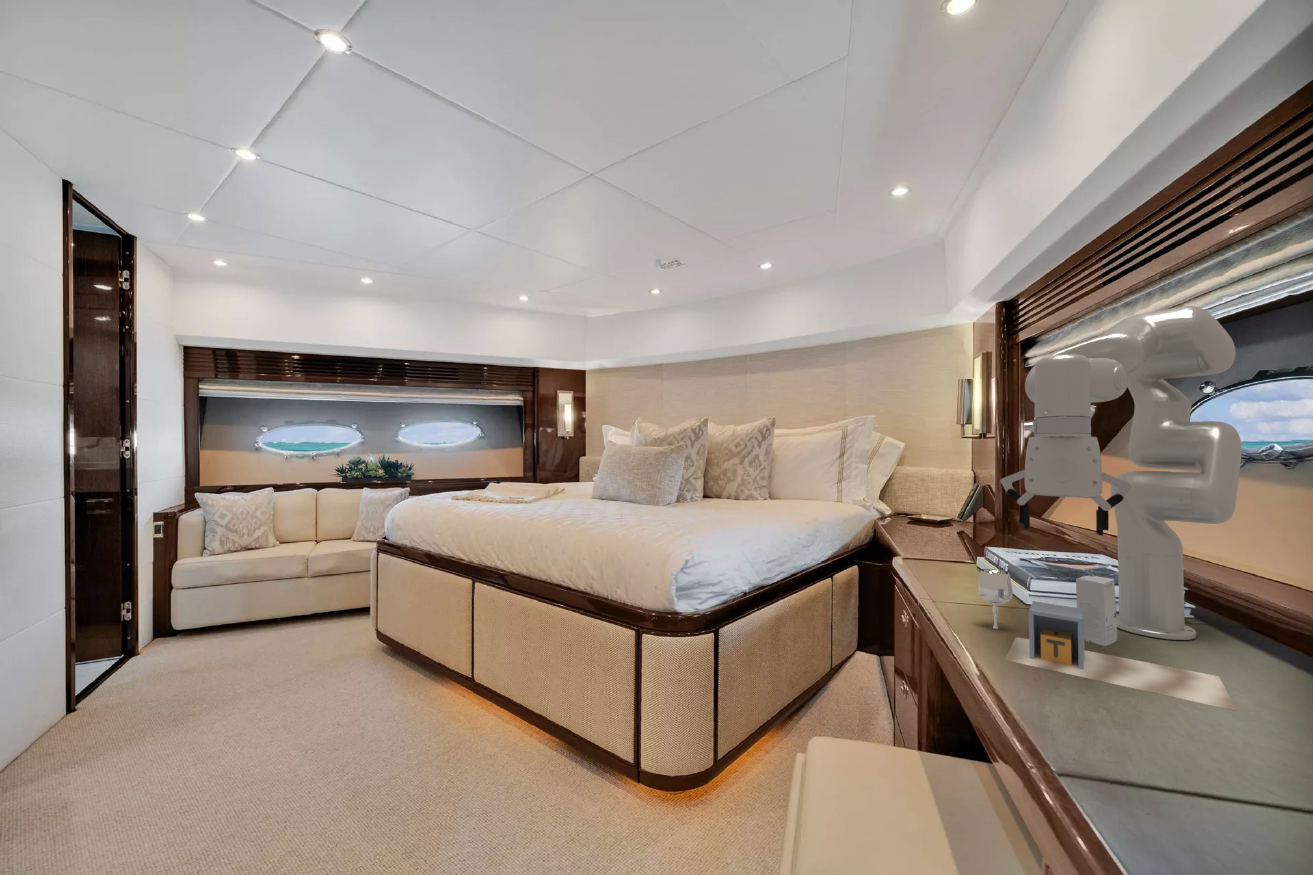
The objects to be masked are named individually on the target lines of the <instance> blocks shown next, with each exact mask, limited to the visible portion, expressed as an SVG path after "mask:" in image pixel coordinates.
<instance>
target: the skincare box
mask: <svg viewBox="0 0 1313 875" xmlns="http://www.w3.org/2000/svg"><path fill="white" fill-rule="evenodd" d="M1115 584H1116V582H1115V579H1114V578H1110V577H1109V578H1108V577H1103V576H1096V575H1084V576H1081V577H1078V578H1076V579H1075V585H1076V587H1075V588H1076V608H1081V609H1084V642H1087V643H1090V644H1096V645H1098V646H1099V645H1100V646H1104V647H1106V646H1109V645H1112V644H1113V643H1115V642H1116V641H1118V628H1117V620H1116V614H1117V604H1116V602H1117V600H1116V589H1115V588H1116V586H1115Z"/></svg>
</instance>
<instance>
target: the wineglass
mask: <svg viewBox="0 0 1313 875" xmlns="http://www.w3.org/2000/svg"><path fill="white" fill-rule="evenodd" d="M977 581H978V582H977V591H978V594H979V596H980V598H981V599H983V600H984V601H985V602H988V603H989V604H992V605H993V606H992V613H993V627H992V628H993V629H996V630H998V629H999V626H998V614H999V607H998V606H999V605H1004V604H1006V603H1009V602H1010V601H1011V600H1012V597H1013V594H1014V590H1013V583H1012V579H1011V575H1010V572H1008V571H1005V570H1002V569H995V568H982V569H980V572H979V575H978V580H977Z"/></svg>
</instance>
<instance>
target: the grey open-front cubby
mask: <svg viewBox="0 0 1313 875" xmlns="http://www.w3.org/2000/svg"><path fill="white" fill-rule="evenodd" d="M1042 629H1049V630H1055V631H1060V632H1066V633H1071V634H1072V652H1073V655H1074V656H1078V660H1079V669H1082V670H1084V659H1085V648H1086V647H1085V641H1084V609H1081V608H1077V607H1073V606H1067V605H1060V604H1054V603H1049V602H1048V603H1047V602H1041V601H1037V600H1036V601H1034V600H1033V601H1032V603H1031V605H1030V607H1029V610H1028V632H1029V633H1028V639H1029V652H1030V658H1031V659H1034V658H1035V655H1036V652H1037V649H1038V648H1039V649H1041V632H1042Z"/></svg>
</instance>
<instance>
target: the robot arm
mask: <svg viewBox="0 0 1313 875" xmlns="http://www.w3.org/2000/svg"><path fill="white" fill-rule="evenodd" d="M1235 360H1236V346H1235V343H1234V341H1233V339H1232V337H1231V336H1230V334H1229V333H1228V332H1227V331H1226V329H1225V328H1224V327H1223V326H1222V324H1220V322H1219V321H1218V320H1217V319H1216V318H1215V317H1214V316H1213V315H1212V314H1211V313H1210V312H1209V311H1207V310H1205V309H1203V308H1202V307H1199V306H1193V305H1186V306H1179V307H1173V308H1168V309H1162V310H1161V309H1160V310H1156V311H1150V312H1145V313H1139V314H1135V315H1130V316H1128V317H1125V318H1124V319H1121V320H1119V321H1118V322H1117V323H1116V324H1114V325H1113V326H1111V328H1109V329H1108V330H1107V331H1105V332H1104V333H1103V334H1101V335H1100V336H1098V337H1096V338H1093V339H1090V340H1087V341H1084V342H1082V343H1079V344H1077V345H1075V346H1072V347H1069V348H1065V349H1063V350H1060V351H1057V352H1056V353H1053V354H1051V355H1049V356H1045V357H1043V358H1041V359H1038V361H1037V362H1036V363H1035V365H1034V366H1033V367H1032V368H1031V369H1030V371H1029V372H1028V374H1027V375H1026V378H1025V383H1024V388H1025V394H1026V396H1027V397H1028V399H1029V400H1030V401H1031V402H1033V403H1034V418H1033V419H1034V420H1032V421H1031V422H1024V424H1023V426H1024V428H1023V429H1024V431H1029V432H1032V433H1033V434H1034V436H1031V437H1030V436H1029V438H1028V440H1027V446H1026V450H1025V452H1026V453H1025V463H1024V464H1025V465H1024V469H1022V470H1020V471H1017V472H1014V473H1012V474H1010V475H1007V476H1005V477H1003V478H1001V479H1000V480H999V482H1000V484H1001V485H1002V487H1003V489H1004V490H1005V492H1006V494H1007V495H1008V496H1009V497H1010V498H1011V499H1012V500H1013V501H1014V502H1016V503H1017V504H1018V505H1019V506H1018V507H1019V508H1018V509H1019V510H1018V514H1019V515H1018V516H1019V518H1018V519H1019V520H1018V521H1019V523H1018V524H1023V529H1024V530H1028V529H1030V527H1031V506H1030V505H1029V501H1030V500H1031V499H1032V498H1033V497H1035V496H1043V497H1047V496H1048V497H1059V498H1060V497H1062V498H1064V497H1065V498H1080V499H1081V498H1082V499H1091V500H1092V501H1093V502H1094V503H1095V504H1097V505H1098V506H1097V509H1095V514H1096V515H1095V518H1096V519H1095V521H1096V522H1095V524H1096V525H1095V526H1096V527H1095V528H1096V529H1095V531H1096V532H1095V533H1096V535H1098V536H1101V537H1102V536H1104V531H1109V526H1110V525H1109V519H1110V518H1109V517H1110V516H1109V511H1110V510H1111V509H1113V510H1114V516H1115V522H1116V532H1117V570H1118V571H1117V572H1118V573H1117V575H1118V576H1117V580H1118V602H1117V605H1118V613H1116V620H1117V629H1119V630H1122V631H1125V632H1128V633H1129V632H1130V633H1132V634H1136V635H1141V636H1145V637H1151V638H1157V639H1163V640H1172V641H1173V640H1174V641H1177V640H1178V641H1188V640H1194V639H1195V638H1197V630H1196V629H1194V628H1193V627H1191V626H1189V625H1187V624H1185V623H1186V622H1185V587H1184V585H1185V583H1184V581H1185V580H1184V548H1183V543H1182V541H1181V539H1180V537H1179V535H1178V534H1177V533H1176V532H1175V531H1174V530H1173V528H1171V527H1170V526H1169V524H1168V523H1167V522H1184V523H1191V524H1192V523H1193V524H1205V525H1208V524H1209V525H1218V524H1224V523H1227V522H1228V521H1229V520H1230V519H1232V518H1233V516H1234V513H1235V509H1236V504H1237V497H1238V488H1239V481H1240V480H1239V479H1240V472H1241V471H1240V470H1241V464H1242V450H1243V449H1242V441H1241V436H1240V435H1239V432H1238V430H1237V429H1236V428H1235V427H1234V426H1233V425H1231V424H1230V423H1227V422H1225V421H1224V422H1223V421H1215V420H1211V421H1209V420H1205V421H1202V420H1201V421H1190V420H1191V412H1192V411H1191V410H1192V403H1191V401H1190V399H1189V398H1188V397H1187V396H1186V395H1185V394H1184V393H1183V392H1182V391H1181V390H1180V389H1178V388H1176V387H1175V386H1173V385H1171V384H1170V383H1168V382H1167V381H1166V380H1165V379H1177V378H1192V377H1201V376H1203V377H1204V376H1211V375H1212V376H1213V375H1217V374H1221V373H1223V372H1226V371H1228V370H1229V369H1230V368H1231V367H1232V366H1233V364H1234V363H1235ZM1127 388H1128V390H1129V393H1130V395H1131V397H1132V399H1133V402H1134V411H1133V417H1132V423H1131V429H1130V436H1129V440H1128V458H1129V460H1130V462H1132V463H1133V464H1134V465H1136V466H1138V467H1142V468H1146V469H1157V470H1133V471H1127V472H1123V473H1121V474H1119V475H1117V476H1116V477H1115V476H1112V475H1110V474H1108V473H1105V472H1104V471H1103V469H1102V468H1103V467H1102V457H1101V449H1100V444H1099V440H1098V437H1097V436H1092V435H1091V434H1092V419H1091V417H1092V414H1091V413H1092V411H1091V410H1092V409H1091V408H1092V407H1091V406H1092V405H1091V404H1092V403H1102V402H1103V403H1104V402H1109V401H1112V400H1116V399H1118V398H1119V397H1121V396H1123V394H1124V393H1125V392H1126V390H1127ZM1158 470H1159V471H1158ZM1160 470H1163V471H1160ZM1164 470H1165V471H1164ZM1166 470H1168V471H1166ZM1169 470H1184V471H1169ZM1185 470H1186V471H1185ZM1187 470H1188V471H1189V470H1191V471H1193V472H1191V471H1190V472H1187ZM1194 471H1200V472H1194ZM1021 479H1024V489H1025V493H1023V494H1022V495H1021V494H1020V493H1019V492H1018V491H1016V489H1015V488H1014V487H1013V483H1015V482H1016V481H1019V480H1021ZM1103 482H1105V483H1108V484H1110V491H1109V492H1110V497H1109V498H1107V499H1105V498H1104V497H1103V496H1102V495H1101V494H1102V492H1103Z"/></svg>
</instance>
